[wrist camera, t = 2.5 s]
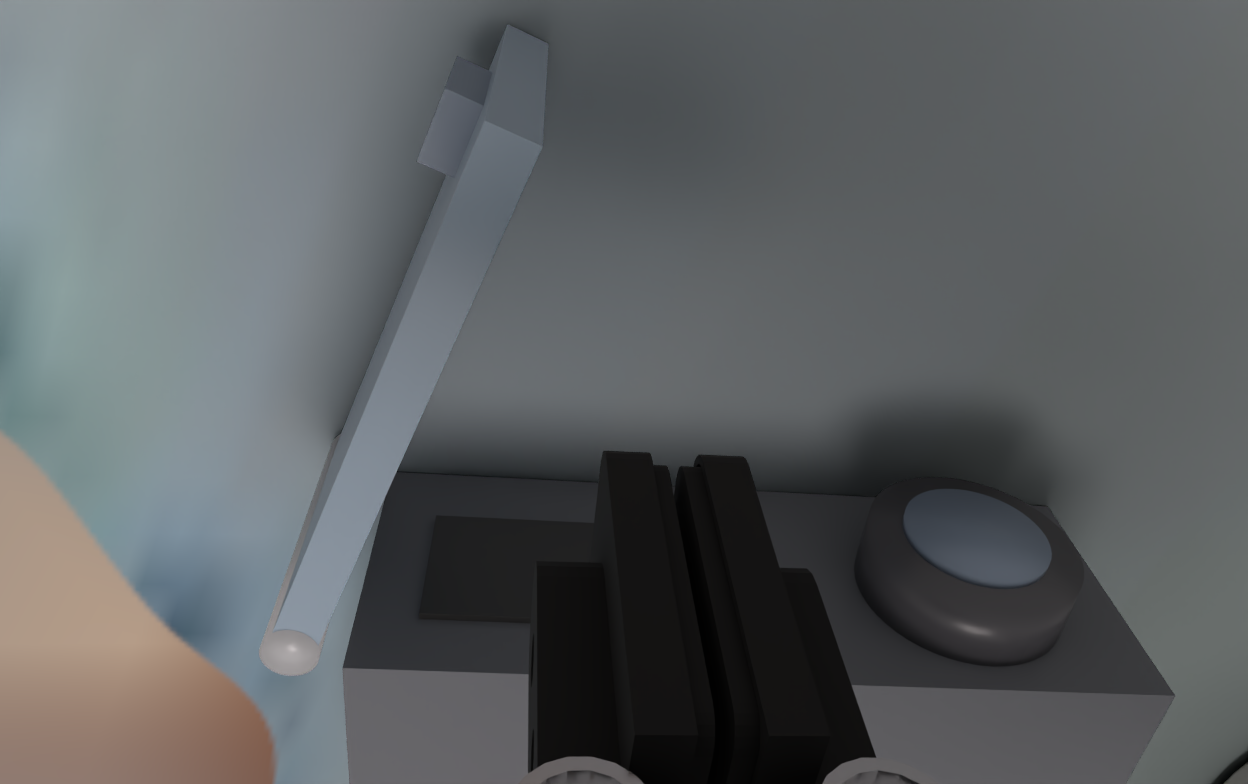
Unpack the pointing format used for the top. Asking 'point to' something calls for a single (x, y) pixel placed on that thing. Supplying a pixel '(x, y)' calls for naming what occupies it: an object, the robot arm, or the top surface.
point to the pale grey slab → (416, 328)
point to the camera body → (802, 538)
